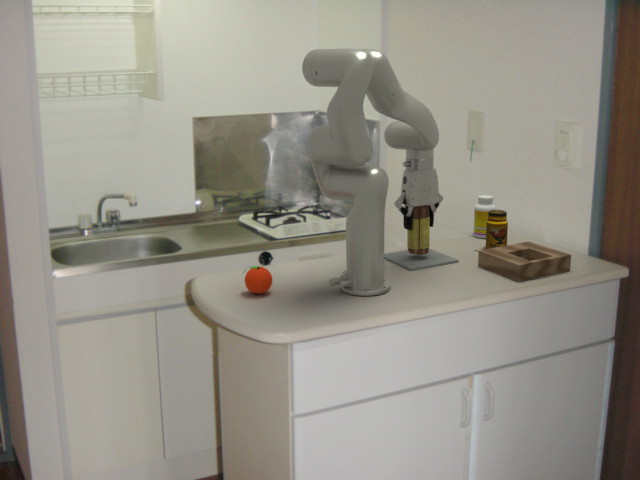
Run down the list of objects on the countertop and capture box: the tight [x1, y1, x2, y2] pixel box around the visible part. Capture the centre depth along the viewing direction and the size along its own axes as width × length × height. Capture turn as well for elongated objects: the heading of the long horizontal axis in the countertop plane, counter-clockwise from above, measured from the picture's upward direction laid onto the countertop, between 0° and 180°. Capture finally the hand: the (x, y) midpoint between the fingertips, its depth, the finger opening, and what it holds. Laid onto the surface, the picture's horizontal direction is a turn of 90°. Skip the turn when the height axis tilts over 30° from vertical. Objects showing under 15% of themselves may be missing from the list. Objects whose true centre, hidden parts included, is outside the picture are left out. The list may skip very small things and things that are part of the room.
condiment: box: [475, 209, 509, 252], centre depth 219 cm, size 7×8×12 cm
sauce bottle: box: [406, 205, 431, 255], centre depth 210 cm, size 7×6×20 cm
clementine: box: [242, 265, 273, 294], centre depth 187 cm, size 8×7×7 cm
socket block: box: [477, 240, 572, 283], centre depth 202 cm, size 18×16×4 cm
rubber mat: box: [384, 248, 459, 272], centre depth 213 cm, size 16×16×1 cm
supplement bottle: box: [473, 194, 497, 239], centre depth 234 cm, size 7×7×13 cm
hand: (418, 227), depth 211 cm, fingers open, 6 cm apart
